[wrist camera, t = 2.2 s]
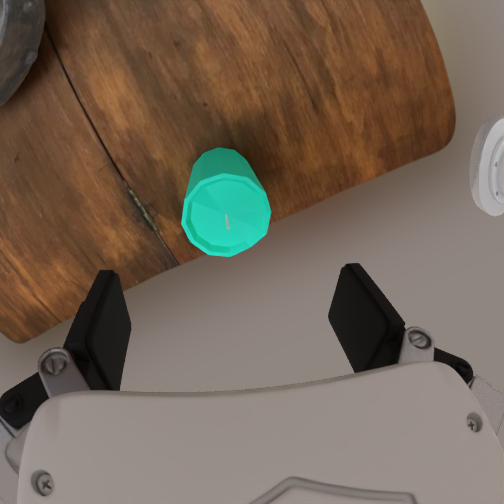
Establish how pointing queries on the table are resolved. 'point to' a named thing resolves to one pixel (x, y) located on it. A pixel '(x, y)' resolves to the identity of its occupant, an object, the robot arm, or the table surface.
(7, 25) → the bowl
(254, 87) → the table surface
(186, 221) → the candle
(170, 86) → the table surface
